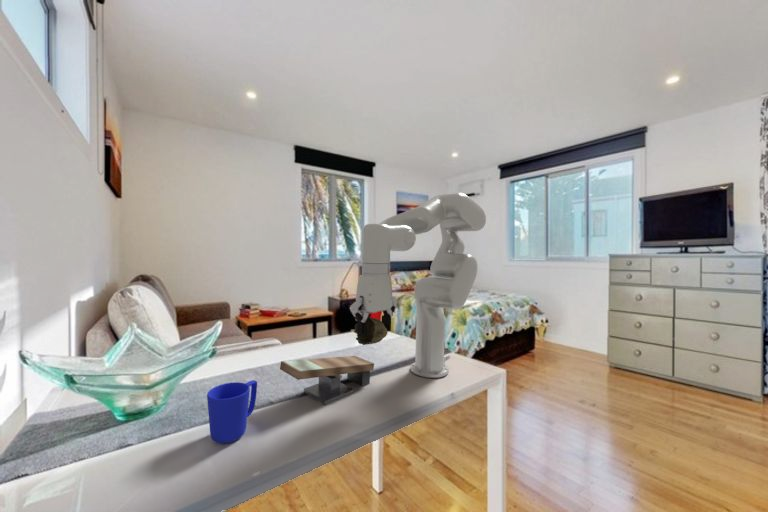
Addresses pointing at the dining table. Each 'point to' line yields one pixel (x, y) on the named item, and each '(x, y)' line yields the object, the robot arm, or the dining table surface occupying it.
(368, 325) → the olive green rounded piece
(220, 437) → the mug
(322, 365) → the beam
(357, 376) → the pivot stand
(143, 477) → the dining table surface
